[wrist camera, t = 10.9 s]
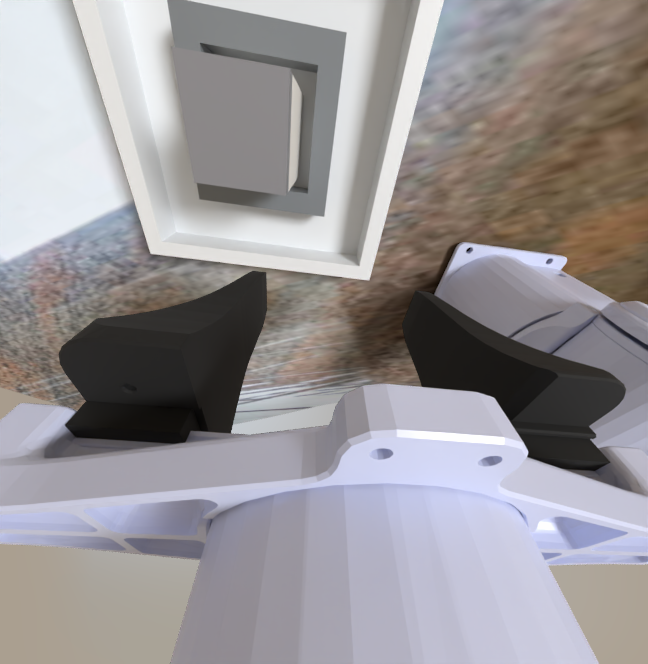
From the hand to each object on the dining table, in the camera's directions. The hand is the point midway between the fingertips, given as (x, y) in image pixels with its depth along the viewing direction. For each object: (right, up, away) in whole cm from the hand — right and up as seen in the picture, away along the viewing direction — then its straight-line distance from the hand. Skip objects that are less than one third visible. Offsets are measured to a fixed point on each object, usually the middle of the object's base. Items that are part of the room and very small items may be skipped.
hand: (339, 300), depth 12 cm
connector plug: (-4, +11, +3) cm, 12 cm away
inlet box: (-4, +11, +4) cm, 13 cm away
